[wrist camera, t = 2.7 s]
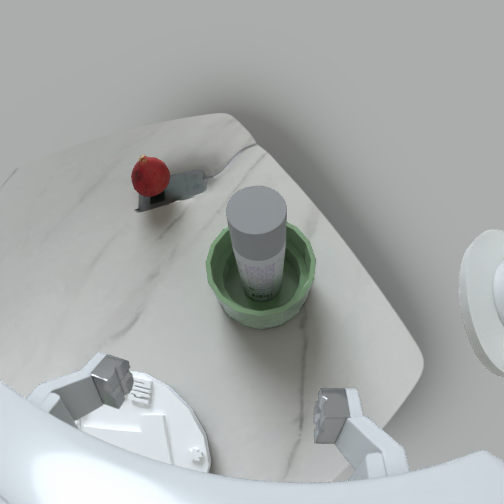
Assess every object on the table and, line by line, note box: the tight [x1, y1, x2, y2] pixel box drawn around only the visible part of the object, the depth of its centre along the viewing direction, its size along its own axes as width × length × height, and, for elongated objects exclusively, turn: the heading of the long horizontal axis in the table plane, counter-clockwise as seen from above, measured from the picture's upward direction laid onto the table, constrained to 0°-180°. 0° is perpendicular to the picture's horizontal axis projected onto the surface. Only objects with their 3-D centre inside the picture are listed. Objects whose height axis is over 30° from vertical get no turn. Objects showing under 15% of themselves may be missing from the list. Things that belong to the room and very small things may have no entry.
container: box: [226, 186, 287, 302], centre depth 27 cm, size 5×5×15 cm
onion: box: [131, 155, 170, 197], centre depth 38 cm, size 6×6×8 cm
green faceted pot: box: [206, 222, 316, 329], centre depth 31 cm, size 11×11×6 cm
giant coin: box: [74, 371, 211, 473], centre depth 23 cm, size 20×20×3 cm
